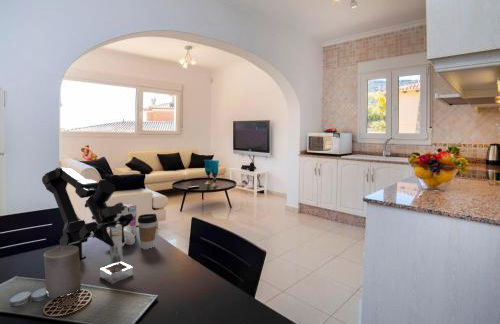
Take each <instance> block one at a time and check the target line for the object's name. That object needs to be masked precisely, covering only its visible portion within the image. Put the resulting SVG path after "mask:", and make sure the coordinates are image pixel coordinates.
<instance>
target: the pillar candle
mask: <svg viewBox="0 0 500 324" xmlns="http://www.w3.org/2000/svg"><path fill="white" fill-rule="evenodd" d="M43 260H44V261H43V262H44V263H43V264H44V278H45V279H44V281H45V291H46V290H47V291H48V292H49V297H50V298H49V299H57V298H56V297H59V296H63V295H67V294H70V293H72V292H75V291H77V290H79V291H80V289H81V288H82V284H81V283H82V282H81V261H80V260H81V259H80V258H79V248H78V247H77V246H61V245H60V246H56V247H53V248H50V249H48V250H47V251H45V252H44V253H43ZM77 292H78V291H77Z"/></svg>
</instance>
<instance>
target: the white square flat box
mask: <svg viewBox="0 0 500 324" xmlns="http://www.w3.org/2000/svg"><path fill="white" fill-rule="evenodd" d="M99 276H100V279H103V280H105V281H106V282H108V283H110V284H115V283H118V282H119V281H122V280H125V279H127V278H130V277H132V276H134V267H133V266H131V265H130V264H127V263H125V262H123V261H121V262H119V263H111V264H108V265H107V266H105V267H100V269H99Z"/></svg>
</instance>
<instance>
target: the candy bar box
mask: <svg viewBox="0 0 500 324" xmlns="http://www.w3.org/2000/svg"><path fill="white" fill-rule="evenodd" d="M115 204H116V203H114V204H113V206H115ZM122 204H123V205H124V208H125V209H124V210H123V211H121V212H122V213H119V214H117V217H116V218H115V220H117V219H119V218H120V217H121V215H123V214H127V213H131V214H132V215H133V217H134V219H133V220H132V221H131V222H130V224H129V225H130V226H131V231H130V232H131V233H132V234H133V236H134V238H136V237H137V204H131V203H130V204H129V203H125V202H122ZM135 236H136V237H135Z"/></svg>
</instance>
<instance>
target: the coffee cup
mask: <svg viewBox="0 0 500 324" xmlns="http://www.w3.org/2000/svg"><path fill="white" fill-rule="evenodd" d="M157 217H158V216H157V214H156V213H146V214H145V213H144V214H140V215H138V217H137V223H138V233H139V240H140V241H139V242H140V248H141V249H142V248H143V249H142V250H150V249H149V248H151V249H153V248H155V242H156V241H155V240H156V233H157V232H156V231H157V221H158V218H157ZM152 247H153V248H152Z"/></svg>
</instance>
